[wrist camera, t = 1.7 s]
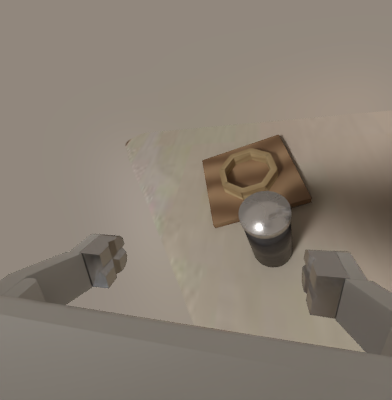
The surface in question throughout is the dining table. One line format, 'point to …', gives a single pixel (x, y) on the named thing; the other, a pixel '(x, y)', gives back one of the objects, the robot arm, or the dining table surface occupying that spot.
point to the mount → (251, 178)
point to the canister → (267, 227)
